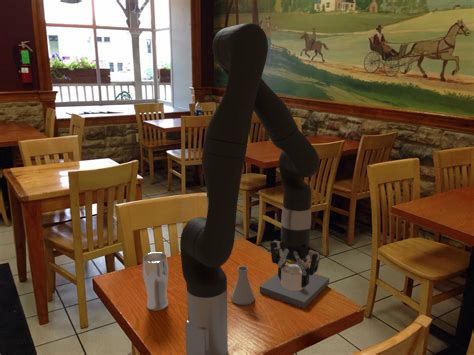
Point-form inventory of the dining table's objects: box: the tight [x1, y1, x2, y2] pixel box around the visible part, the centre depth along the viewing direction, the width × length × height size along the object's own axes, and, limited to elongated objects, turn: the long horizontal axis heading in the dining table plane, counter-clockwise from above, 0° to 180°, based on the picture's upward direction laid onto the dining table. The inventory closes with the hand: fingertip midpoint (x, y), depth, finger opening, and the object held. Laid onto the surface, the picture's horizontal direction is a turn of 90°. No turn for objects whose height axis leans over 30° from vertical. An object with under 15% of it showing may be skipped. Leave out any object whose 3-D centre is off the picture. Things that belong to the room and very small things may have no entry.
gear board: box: [259, 272, 330, 309], centre depth 126 cm, size 17×15×6 cm
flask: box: [230, 265, 256, 306], centre depth 119 cm, size 7×7×10 cm
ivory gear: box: [281, 263, 303, 291], centre depth 109 cm, size 6×6×4 cm
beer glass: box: [142, 251, 169, 312], centre depth 116 cm, size 7×7×15 cm
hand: (293, 282), depth 109 cm, fingers closed on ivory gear, 6 cm apart
